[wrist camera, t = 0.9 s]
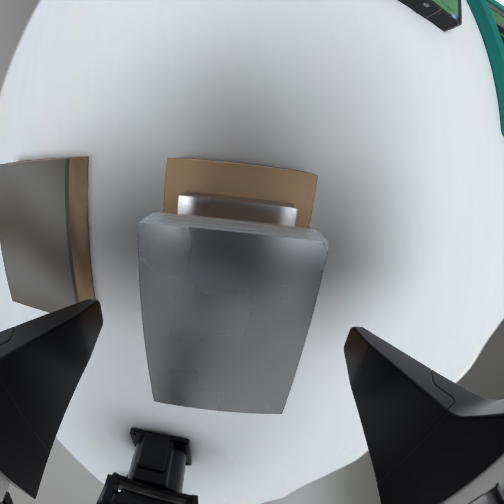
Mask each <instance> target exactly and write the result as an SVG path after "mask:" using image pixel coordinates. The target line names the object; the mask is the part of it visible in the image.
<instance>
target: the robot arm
mask: <svg viewBox="0 0 504 504" xmlns="http://www.w3.org/2000/svg"><path fill="white" fill-rule="evenodd" d="M102 325H103V318H102V312H101V305H100V302H99V301H98V300H94V299H86V300H84V301H81V302H78V303H76V304H73V305H70V306H68V307H65V308H62V309H60V310H57V311H54V312H52V313H49V314H46V315H44V316H41V317H38V318H36V319H33V320H31V321H28V322H25V323H23V324H20V325H18V326H16V327H12V328H10V329H7V330H4V331H2V332H0V504H13V502H12V499H11V497H10V494H9V493H8V492H7V489H8V486H9V484H10V483H11V484H12V485H13V486H15V487H17V488H18V489H20V490H21V491H23V492H24V493H26V494H27V495H29V496H30V497H32V498H34V499H35V498H36V496H37V493H38V489H39V485H40V482H41V478H42V475H43V472H44V469H45V466H46V463H47V460H48V457H49V454H50V450H51V448H52V445H53V442H54V440H55V437H56V434H57V432H58V429H59V427H60V424H61V422H62V419H63V417H64V414H65V412H66V409H67V407H68V405H69V402H70V400H71V398H72V396H73V393H74V391H75V389H76V387H77V384H78V382H79V380H80V378H81V376H82V374H83V372H84V370H85V368H86V366H87V363H88V361H89V359H90V357H91V354H92V352H93V349H94V346H95V344H96V341H97V338H98V336H99V333H100V331H101V328H102ZM344 354H345V359H346V364H347V369H348V375H349V380H350V385H351V389H352V392H353V395H354V399H355V402H356V406H357V409H358V412H359V416H360V419H361V423H362V427H363V430H364V434H365V438H366V441H367V445H368V449H369V453H370V457H371V461H372V465H373V469H374V473H375V477H376V482H377V487H378V491H379V496H380V500H381V504H504V399H502V400H490V399H486V398H483V397H481V396H479V395H477V394H475V393H473V392H471V391H469V390H467V389H465V388H463V387H461V386H459V385H457V384H456V383H454V382H452V381H450V380H448V379H447V378H445V377H443V376H441V375H440V374H438V373H436V372H435V371H433V370H431V369H430V368H428V367H426V366H425V365H423V364H422V363H420V362H418V361H417V360H415V359H413V358H412V357H410V356H408V355H407V354H405V353H404V352H402V351H400V350H399V349H397V348H395V347H394V346H392V345H391V344H389V343H387V342H386V341H384V340H382V339H381V338H379V337H377V336H376V335H374V334H373V333H371V332H369V331H368V330H366V329H365V328H363V327H352V328H351V329H350V331H349V334H348V337H347V340H346V342H345V345H344ZM130 435H131V437H132V440H133V442H134V444H135V447H136V449H135V452H134V456H133V460H132V463H131V467H130V471H129V474H128V478H127V477H124V476H121V475H119V474H118V473H115V472H114V473H113V475H109V474H108V476H107V479H106V482H105V485H104V488H103V490H102V492H101V494H100V497H99V499H98V501H97V504H198V496H196V495H188V494H183V493H182V487H183V480H184V472H185V465H191V464H192V459H191V449H190V441H189V440H187V439H182V438H176V437H170V436H165V435H160V434H155V433H150V432H146V431H141V430H137V429H130ZM118 489H119V490H121V491H120V492H118Z"/></svg>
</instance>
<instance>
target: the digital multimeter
mask: <svg viewBox="0 0 504 504" xmlns="http://www.w3.org/2000/svg"><path fill="white" fill-rule="evenodd" d="M467 1H468V3H469V6H470V8H471V10H472V12H473V15H474V17H475V19H476V22H477V24H478V26H479V29H480V31H481V34H482V37H483V40H484V43H485V46H486V49H487V52H488V56H489V59H490V63H491V67H492V71H493V75H494V80H495V85H496V90H497V96H498V102H499V110H500V119H501V129H502V134H503V135H504V6H502V5H501V4H499V3H498V2H497V1H495V0H467Z"/></svg>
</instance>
